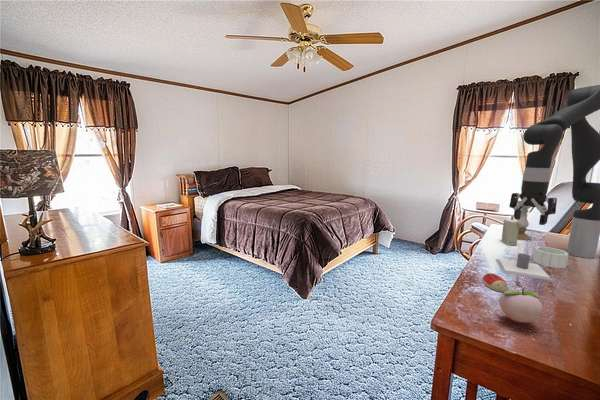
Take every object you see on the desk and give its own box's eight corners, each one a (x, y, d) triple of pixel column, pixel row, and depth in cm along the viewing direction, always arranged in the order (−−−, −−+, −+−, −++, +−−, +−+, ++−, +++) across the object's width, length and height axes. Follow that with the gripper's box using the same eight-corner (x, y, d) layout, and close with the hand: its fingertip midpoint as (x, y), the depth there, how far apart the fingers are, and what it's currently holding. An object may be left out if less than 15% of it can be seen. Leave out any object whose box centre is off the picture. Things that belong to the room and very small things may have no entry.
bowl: (530, 258, 119) (532, 245, 118) (559, 262, 115) (562, 248, 114) (537, 266, 111) (539, 252, 110) (570, 271, 106) (572, 256, 105)
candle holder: (516, 239, 145) (521, 202, 141) (506, 235, 153) (511, 200, 150) (534, 240, 143) (540, 203, 140) (523, 236, 152) (529, 200, 148)
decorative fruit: (513, 333, 69) (519, 297, 67) (491, 314, 77) (495, 281, 75) (550, 333, 69) (556, 297, 67) (523, 314, 77) (528, 281, 76)
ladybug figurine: (492, 292, 90) (493, 282, 89) (476, 279, 99) (477, 270, 99) (513, 293, 89) (515, 283, 88) (495, 280, 99) (496, 271, 98)
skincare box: (516, 246, 135) (520, 222, 133) (507, 245, 136) (510, 221, 134) (509, 242, 141) (513, 219, 139) (500, 241, 142) (503, 218, 140)
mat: (495, 260, 117) (495, 259, 116) (539, 267, 110) (539, 265, 110) (502, 274, 103) (502, 272, 103) (553, 282, 97) (553, 280, 97)
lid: (498, 260, 115) (500, 247, 114) (537, 266, 109) (539, 252, 108) (505, 272, 104) (507, 257, 103) (549, 279, 98) (551, 264, 97)
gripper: (565, 181, 95) (557, 225, 98) (521, 178, 108) (516, 217, 111) (551, 182, 93) (544, 227, 95) (508, 178, 106) (503, 218, 109)
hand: (529, 222), depth 103 cm, fingers open, 8 cm apart
